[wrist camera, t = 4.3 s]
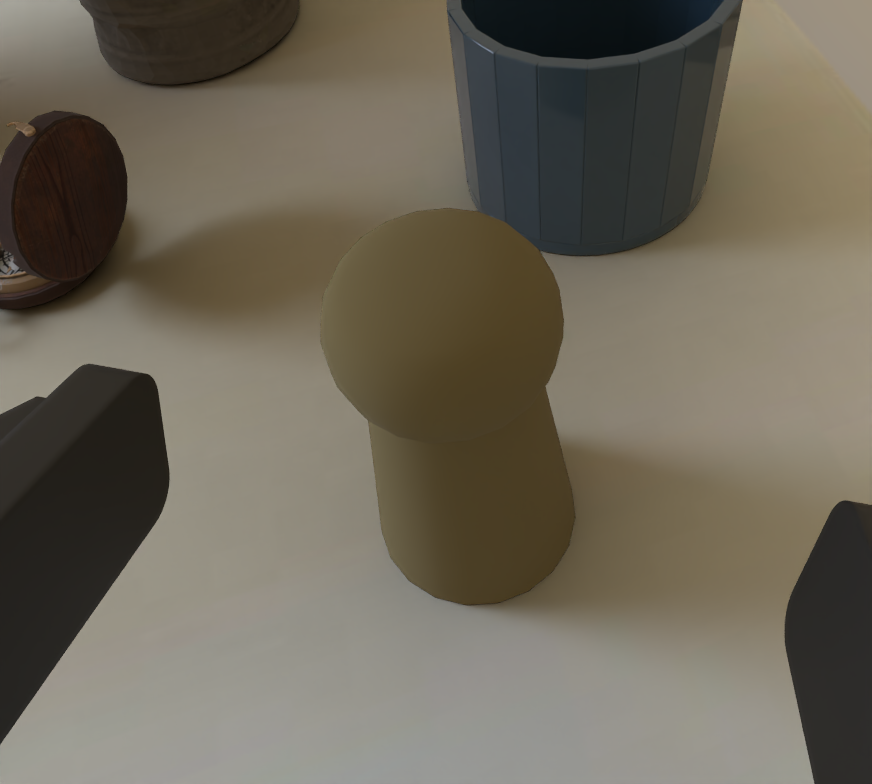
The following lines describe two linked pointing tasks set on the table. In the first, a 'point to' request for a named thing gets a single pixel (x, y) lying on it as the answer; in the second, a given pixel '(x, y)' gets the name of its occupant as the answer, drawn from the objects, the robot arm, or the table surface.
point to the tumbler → (590, 113)
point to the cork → (456, 398)
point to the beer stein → (186, 35)
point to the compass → (57, 206)
